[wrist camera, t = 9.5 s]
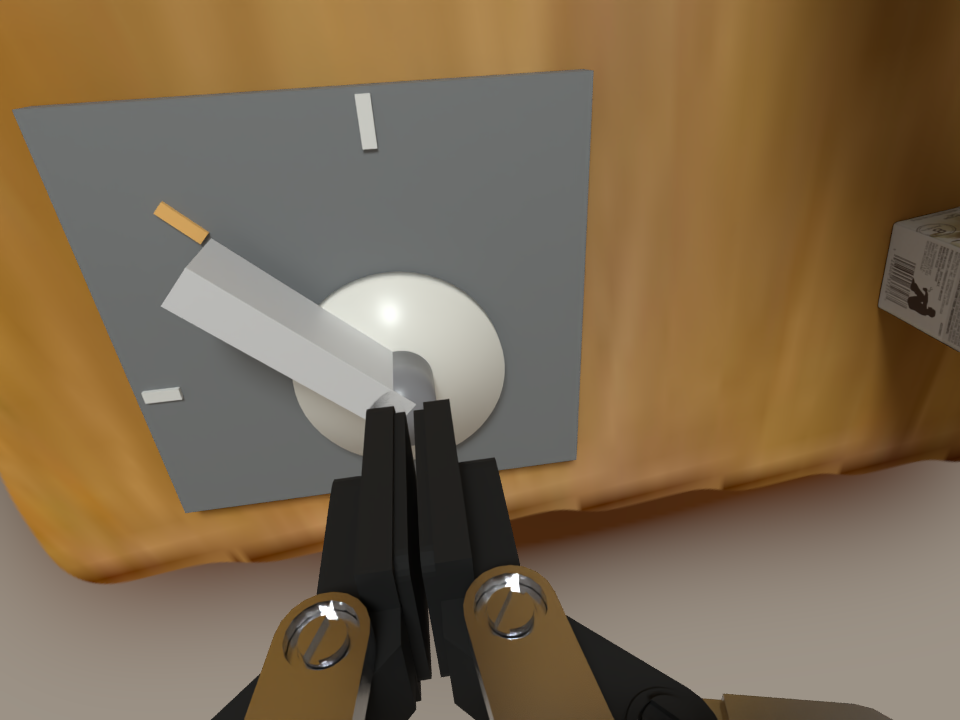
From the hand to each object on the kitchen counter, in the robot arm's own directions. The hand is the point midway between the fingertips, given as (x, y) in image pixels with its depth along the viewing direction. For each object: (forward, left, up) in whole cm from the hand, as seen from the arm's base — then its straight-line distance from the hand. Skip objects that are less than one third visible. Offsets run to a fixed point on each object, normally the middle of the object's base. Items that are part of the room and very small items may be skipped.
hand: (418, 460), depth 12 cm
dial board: (+3, +6, -22) cm, 23 cm away
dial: (+3, +7, -20) cm, 21 cm away
